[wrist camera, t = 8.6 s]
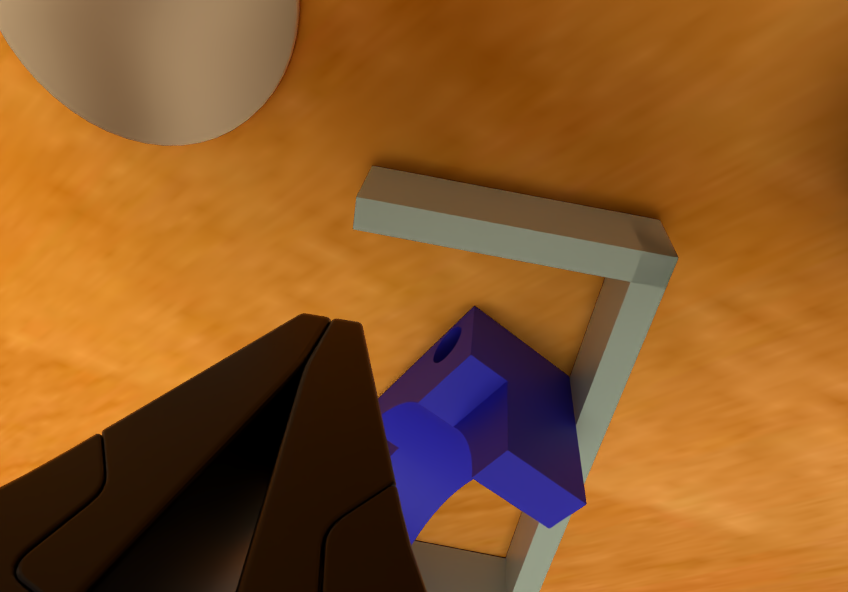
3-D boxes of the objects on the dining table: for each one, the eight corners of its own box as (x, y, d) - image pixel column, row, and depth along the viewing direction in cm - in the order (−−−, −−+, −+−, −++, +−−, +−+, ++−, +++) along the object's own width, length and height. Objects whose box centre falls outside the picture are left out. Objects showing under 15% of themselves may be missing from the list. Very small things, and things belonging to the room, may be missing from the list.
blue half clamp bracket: (474, 302, 22) (465, 421, 17) (569, 373, 24) (586, 504, 18) (293, 478, 28) (246, 606, 23) (376, 528, 29) (349, 661, 24)
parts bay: (659, 220, 20) (678, 257, 18) (522, 576, 29) (523, 628, 27) (372, 165, 20) (356, 196, 18) (327, 538, 29) (314, 587, 27)
